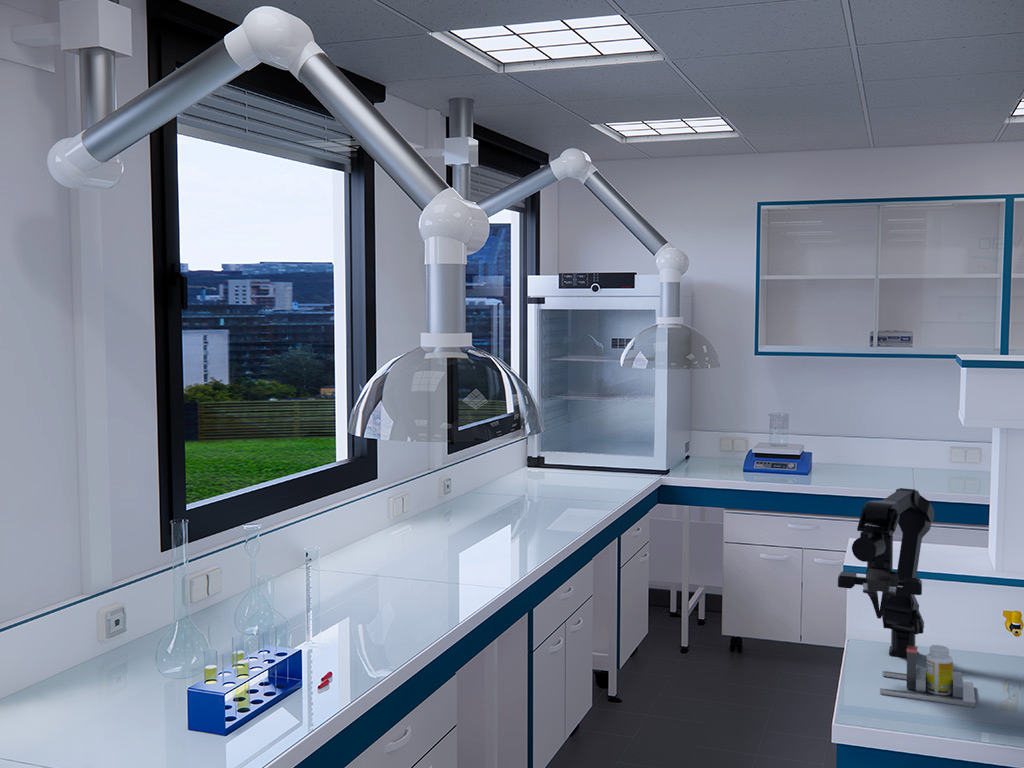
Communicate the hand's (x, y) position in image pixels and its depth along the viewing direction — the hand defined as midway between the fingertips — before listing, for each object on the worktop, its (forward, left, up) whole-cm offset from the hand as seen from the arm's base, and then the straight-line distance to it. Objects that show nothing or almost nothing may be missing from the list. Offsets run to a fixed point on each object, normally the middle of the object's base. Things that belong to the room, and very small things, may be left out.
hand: (879, 618), depth 224 cm
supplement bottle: (+9, +13, -13) cm, 21 cm away
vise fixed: (+9, +11, -13) cm, 19 cm away
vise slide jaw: (+9, +8, -13) cm, 18 cm away
